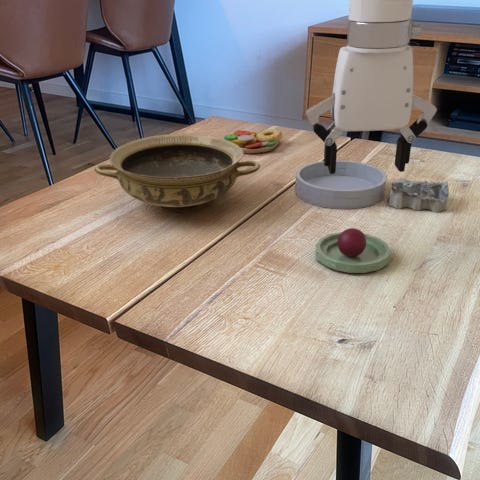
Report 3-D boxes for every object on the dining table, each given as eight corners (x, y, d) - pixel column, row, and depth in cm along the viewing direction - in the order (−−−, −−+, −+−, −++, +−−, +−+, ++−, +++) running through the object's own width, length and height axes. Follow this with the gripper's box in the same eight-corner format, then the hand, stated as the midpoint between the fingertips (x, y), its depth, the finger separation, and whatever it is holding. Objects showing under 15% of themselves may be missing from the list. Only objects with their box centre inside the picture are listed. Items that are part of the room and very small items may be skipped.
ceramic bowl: (89, 233, 95) (78, 177, 90) (111, 184, 115) (104, 135, 109) (263, 229, 96) (264, 173, 90) (256, 180, 116) (256, 132, 110)
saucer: (380, 241, 91) (381, 231, 90) (395, 275, 82) (397, 264, 81) (312, 242, 91) (313, 232, 90) (320, 275, 82) (320, 264, 81)
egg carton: (385, 208, 103) (388, 187, 101) (389, 193, 109) (392, 173, 106) (446, 214, 100) (450, 192, 98) (446, 199, 106) (450, 178, 104)
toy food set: (286, 142, 138) (287, 128, 136) (269, 157, 128) (269, 143, 126) (236, 137, 142) (236, 124, 140) (216, 152, 132) (216, 138, 130)
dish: (374, 175, 117) (376, 159, 115) (393, 208, 103) (396, 190, 101) (292, 176, 117) (293, 160, 115) (299, 209, 103) (300, 191, 101)
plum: (363, 248, 88) (364, 222, 86) (368, 260, 85) (369, 234, 82) (335, 250, 88) (335, 224, 86) (339, 263, 85) (339, 236, 82)
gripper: (438, 29, 72) (419, 159, 82) (305, 34, 73) (302, 163, 82) (456, 37, 66) (433, 177, 76) (311, 43, 66) (306, 181, 76)
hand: (365, 169), depth 79 cm, fingers open, 9 cm apart
